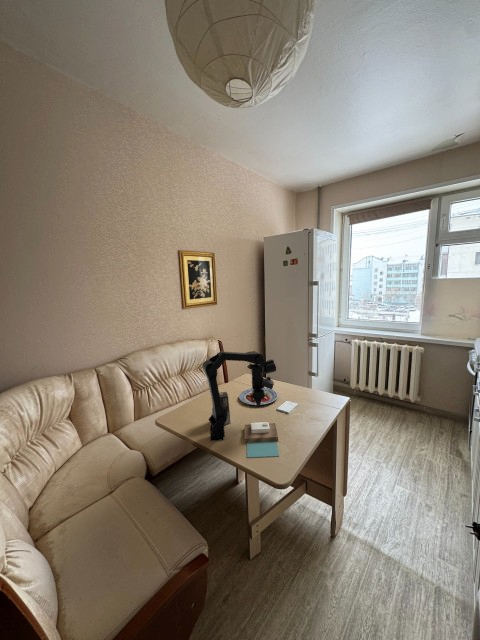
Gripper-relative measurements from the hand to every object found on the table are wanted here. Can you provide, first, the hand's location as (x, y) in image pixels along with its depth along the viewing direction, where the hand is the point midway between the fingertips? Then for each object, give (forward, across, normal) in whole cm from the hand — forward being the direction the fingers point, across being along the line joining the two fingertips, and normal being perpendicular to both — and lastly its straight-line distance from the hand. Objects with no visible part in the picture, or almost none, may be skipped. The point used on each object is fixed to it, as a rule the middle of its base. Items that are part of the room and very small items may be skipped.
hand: (258, 403), depth 130 cm
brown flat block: (+12, -10, 0) cm, 15 cm away
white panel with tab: (+10, -9, 0) cm, 13 cm away
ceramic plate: (+12, +31, 0) cm, 34 cm away
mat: (+12, -21, 0) cm, 24 cm away
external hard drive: (+13, +17, -18) cm, 27 cm away
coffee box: (+12, +4, +21) cm, 25 cm away
